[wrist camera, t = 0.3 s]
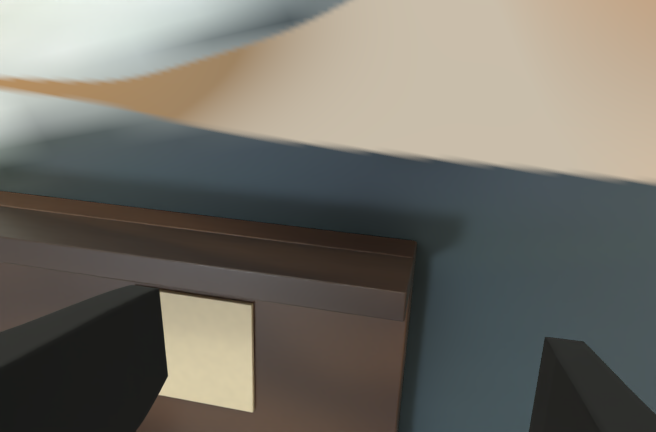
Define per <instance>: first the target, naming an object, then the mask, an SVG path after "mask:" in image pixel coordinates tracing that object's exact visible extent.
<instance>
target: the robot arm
mask: <svg viewBox="0 0 656 432" xmlns="http://www.w3.org/2000/svg"><path fill="white" fill-rule="evenodd" d="M167 377H168V370H167V360H166V350H165V340H164V330H163V320H162V310H161V300H160V290H159V288H152V287H144V286H136V285H129V286H125V287H121V288H118V289H114V290H111V291H108V292H105V293H103V294H100V295H97V296H94V297H92V298H89V299H86V300H84V301H81V302H79V303H76V304H73V305H71V306H68V307H66V308H63V309H60V310H58V311H55V312H53V313H50V314H48V315H45V316H42V317H40V318H37V319H35V320H32V321H29V322H27V323H24V324H21V325H19V326H16V327H13V328H10V329H7V330H5V331H2V332H0V432H136V430H137V429H138V428H139V426H140V425H141V423H142V422H143V421H144V419H145V417H146V416H147V414H148V412H149V411H150V409H151V407H152V405H153V404H154V402H155V400H156V398H157V396H158V394H159V393H160V391H161V389H162V387H163V385H164V383H165V381H166V379H167ZM529 432H656V414H655V413H654V412H653V411H652V410H650V409H649V408H648V407H647V406H646V405H645V404H644V403H643V402H642V401H641V400H640V399H639V398H638V397H637V396H636V395H635V394H634V393H633V392H632V391H631V390H630V389H629V388H628V387H627V386H626V385H625V384H624V382H623V381H622V380H621V379H620V378H619V377H618V376H617V375H616V374H615V373H614V372H613V371H612V370H611V369H610V368H609V367H608V366H607V365H606V364H605V363H604V362H603V361H602V360H601V359H600V358H599V357H598V356H597V355H596V354H595V352H594V351H593V350H592V349H591V348H590V347H589V346H587V345H586V344H585V343H584V342H583V341H575V340H567V339H559V338H551V337H545V341H544V347H543V352H542V358H541V364H540V370H539V376H538V382H537V388H536V394H535V399H534V405H533V411H532V417H531V423H530V429H529Z"/></svg>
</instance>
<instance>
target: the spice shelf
mask: <svg viewBox="0 0 656 432" xmlns="http://www.w3.org/2000/svg"><path fill="white" fill-rule="evenodd" d="M416 250H417V242H416V241H412V240H403V239H395V238H387V237H378V236H370V235H362V234H354V233H345V232H337V231H329V230H320V229H312V228H304V227H295V226H287V225H279V224H270V223H262V222H254V221H245V220H237V219H229V218H221V217H212V216H204V215H196V214H187V213H179V212H171V211H162V210H154V209H146V208H137V207H129V206H121V205H112V204H104V203H96V202H88V201H79V200H71V199H63V198H54V197H46V196H38V195H29V194H21V193H13V192H4V191H0V332H2V331H5V330H7V329H10V328H13V327H16V326H19V325H21V324H24V323H27V322H29V321H32V320H35V319H37V318H40V317H42V316H45V315H48V314H50V313H53V312H55V311H58V310H60V309H63V308H66V307H68V306H71V305H73V304H76V303H79V302H81V301H84V300H86V299H89V298H92V297H94V296H97V295H100V294H103V293H105V292H108V291H111V290H114V289H118V288H121V287H125V286H129V285H136V286H144V287H152V288H159V290H160V300H161V310H162V320H163V330H164V340H165V350H166V360H167V370H168V377H167V379H166V381H165V383H164V385H163V387H162V389H161V391H160V393H159V394H158V396H157V398H156V400H155V402H154V404H153V405H152V407H151V409H150V411H149V412H148V414H147V416H146V417H145V419H144V421H143V422H142V423H141V425H140V426H139V428H138V429H137V430H136V432H398V428H399V418H400V408H401V398H402V388H403V378H404V369H405V359H406V349H407V339H408V329H409V319H410V309H411V300H412V290H413V280H414V270H415V260H416Z"/></svg>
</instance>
